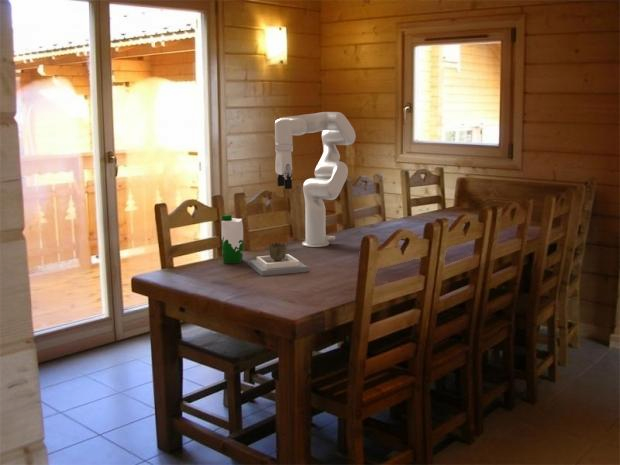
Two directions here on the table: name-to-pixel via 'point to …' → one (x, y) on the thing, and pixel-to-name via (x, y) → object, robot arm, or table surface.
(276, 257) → the cup
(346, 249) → the table surface
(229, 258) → the milk carton
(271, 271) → the stand
